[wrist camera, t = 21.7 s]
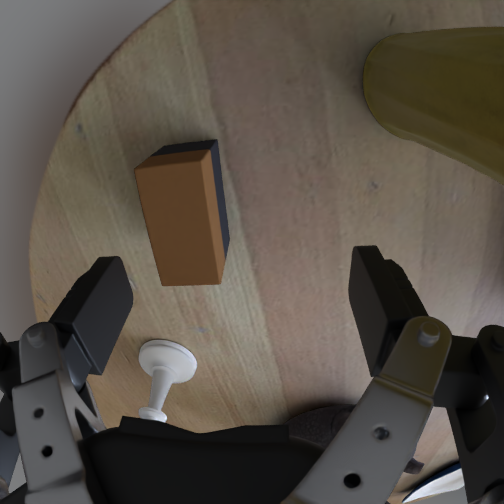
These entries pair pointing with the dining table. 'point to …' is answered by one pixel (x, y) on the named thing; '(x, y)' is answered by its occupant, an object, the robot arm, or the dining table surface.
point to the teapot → (331, 429)
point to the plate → (439, 483)
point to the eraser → (185, 212)
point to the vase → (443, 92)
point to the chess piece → (164, 372)
